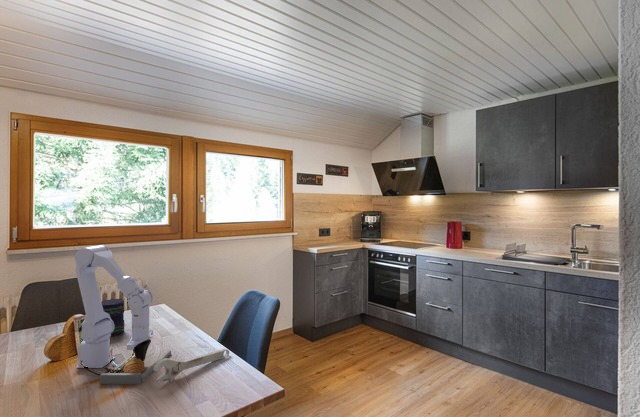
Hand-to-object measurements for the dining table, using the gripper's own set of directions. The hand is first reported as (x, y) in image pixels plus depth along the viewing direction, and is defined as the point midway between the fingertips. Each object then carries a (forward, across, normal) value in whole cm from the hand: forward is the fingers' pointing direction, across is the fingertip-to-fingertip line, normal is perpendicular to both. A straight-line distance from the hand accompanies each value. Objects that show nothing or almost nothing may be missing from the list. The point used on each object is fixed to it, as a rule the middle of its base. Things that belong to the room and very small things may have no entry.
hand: (140, 361), depth 124 cm
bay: (+2, -2, 0) cm, 3 cm away
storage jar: (+2, +31, +30) cm, 43 cm away
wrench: (+2, -3, -21) cm, 22 cm away
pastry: (+2, -5, 0) cm, 5 cm away
